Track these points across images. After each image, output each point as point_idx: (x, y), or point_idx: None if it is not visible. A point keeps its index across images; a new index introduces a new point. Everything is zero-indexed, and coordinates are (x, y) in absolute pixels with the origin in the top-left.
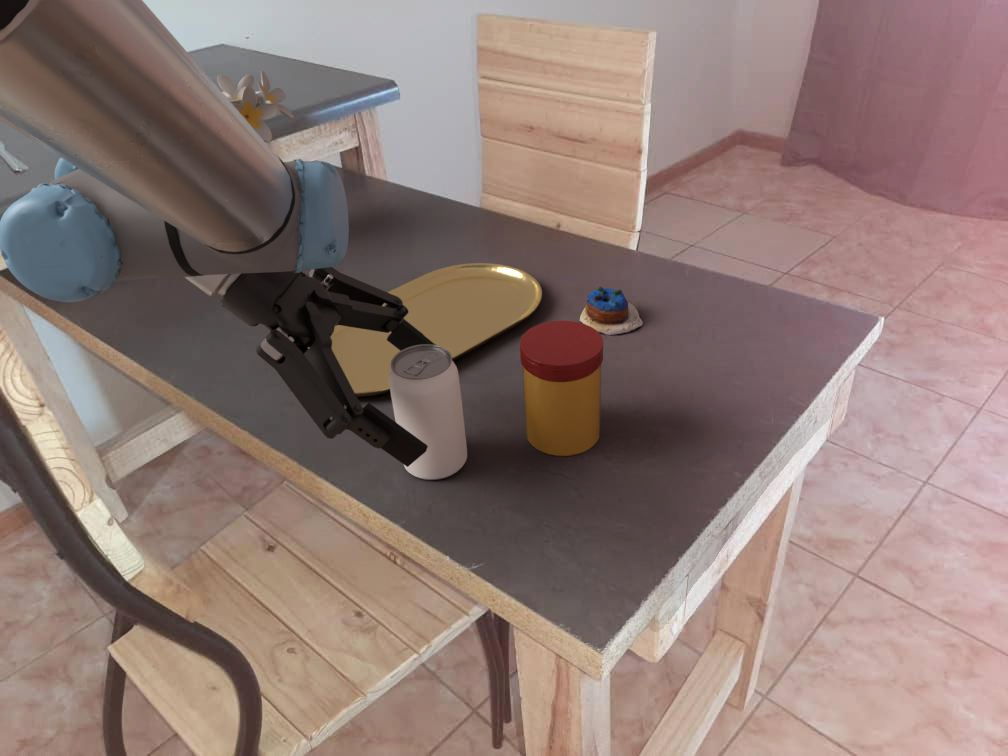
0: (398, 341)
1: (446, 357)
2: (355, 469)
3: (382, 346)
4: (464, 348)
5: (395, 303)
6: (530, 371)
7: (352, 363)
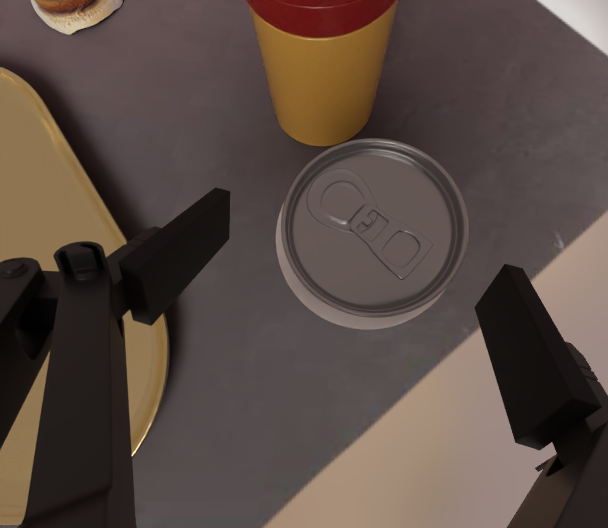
0: (165, 294)
1: (353, 157)
2: (338, 397)
3: None
4: (81, 203)
5: (29, 278)
6: (367, 19)
7: None
